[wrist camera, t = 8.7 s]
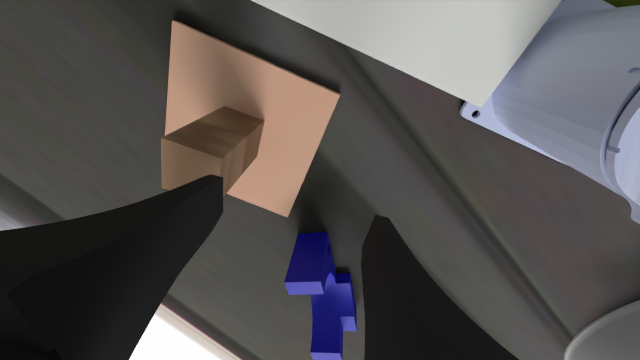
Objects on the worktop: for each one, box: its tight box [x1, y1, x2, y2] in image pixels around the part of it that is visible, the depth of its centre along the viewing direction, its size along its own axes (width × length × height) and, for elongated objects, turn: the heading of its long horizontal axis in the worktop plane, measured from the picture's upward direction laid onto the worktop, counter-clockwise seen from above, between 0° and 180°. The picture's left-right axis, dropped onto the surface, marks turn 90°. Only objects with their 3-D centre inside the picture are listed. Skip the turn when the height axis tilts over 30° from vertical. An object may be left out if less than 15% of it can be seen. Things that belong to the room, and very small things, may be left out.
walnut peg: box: [161, 106, 265, 197], centre depth 16 cm, size 3×3×7 cm
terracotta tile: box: [165, 20, 340, 217], centre depth 20 cm, size 12×12×1 cm
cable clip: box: [284, 232, 357, 360], centre depth 25 cm, size 12×4×6 cm, turn 11°
